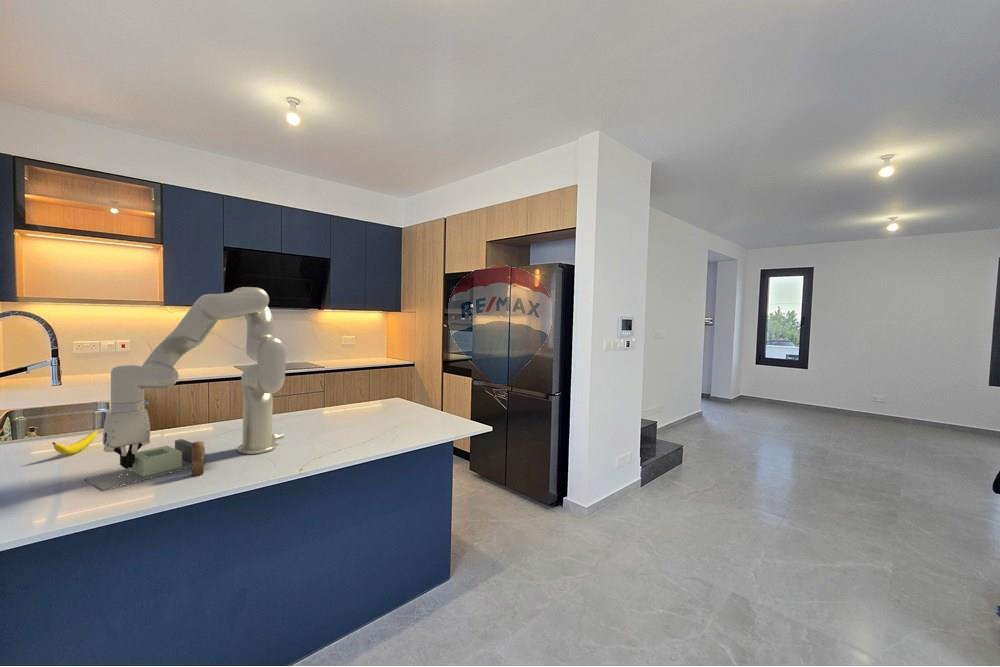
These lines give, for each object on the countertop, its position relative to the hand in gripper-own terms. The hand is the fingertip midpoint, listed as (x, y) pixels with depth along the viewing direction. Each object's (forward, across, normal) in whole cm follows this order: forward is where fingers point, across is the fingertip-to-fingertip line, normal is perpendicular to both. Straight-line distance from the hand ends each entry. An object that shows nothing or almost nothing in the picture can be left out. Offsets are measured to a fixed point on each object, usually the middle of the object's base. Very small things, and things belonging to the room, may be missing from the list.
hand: (127, 467), depth 126 cm
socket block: (+3, -7, 0) cm, 8 cm away
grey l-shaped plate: (+3, -5, 0) cm, 6 cm away
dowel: (+3, -12, +14) cm, 19 cm away
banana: (+3, 0, -38) cm, 38 cm away
